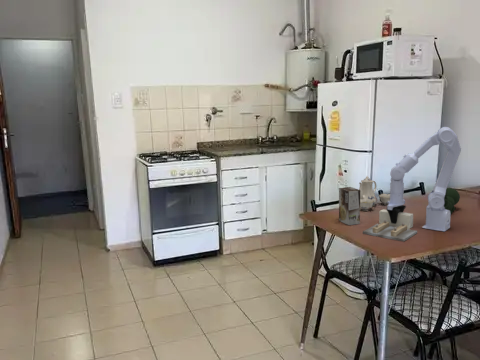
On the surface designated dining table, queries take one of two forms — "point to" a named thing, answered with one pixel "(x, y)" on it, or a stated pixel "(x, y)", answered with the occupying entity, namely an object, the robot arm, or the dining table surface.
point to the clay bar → (402, 217)
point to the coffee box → (349, 205)
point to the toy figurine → (451, 199)
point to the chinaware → (370, 195)
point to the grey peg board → (390, 231)
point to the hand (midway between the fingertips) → (395, 222)
